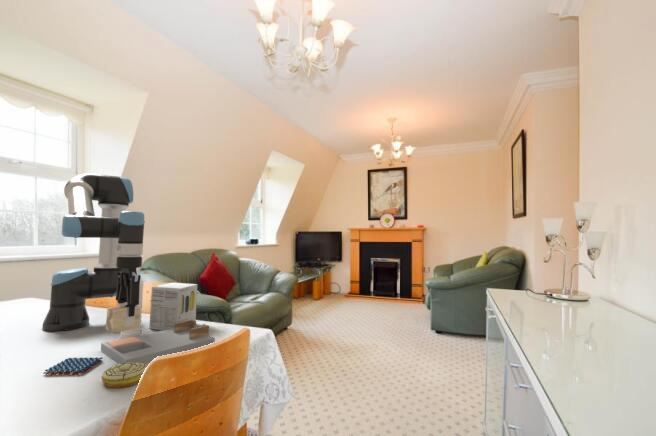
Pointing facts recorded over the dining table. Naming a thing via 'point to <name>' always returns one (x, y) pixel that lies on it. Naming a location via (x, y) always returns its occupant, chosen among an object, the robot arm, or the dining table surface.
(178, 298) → the supplement box
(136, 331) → the water bottle
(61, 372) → the woven mat
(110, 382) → the decorated donut
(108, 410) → the dining table surface
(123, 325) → the block
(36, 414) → the dining table surface
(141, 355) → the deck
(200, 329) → the walls
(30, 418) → the dining table surface
